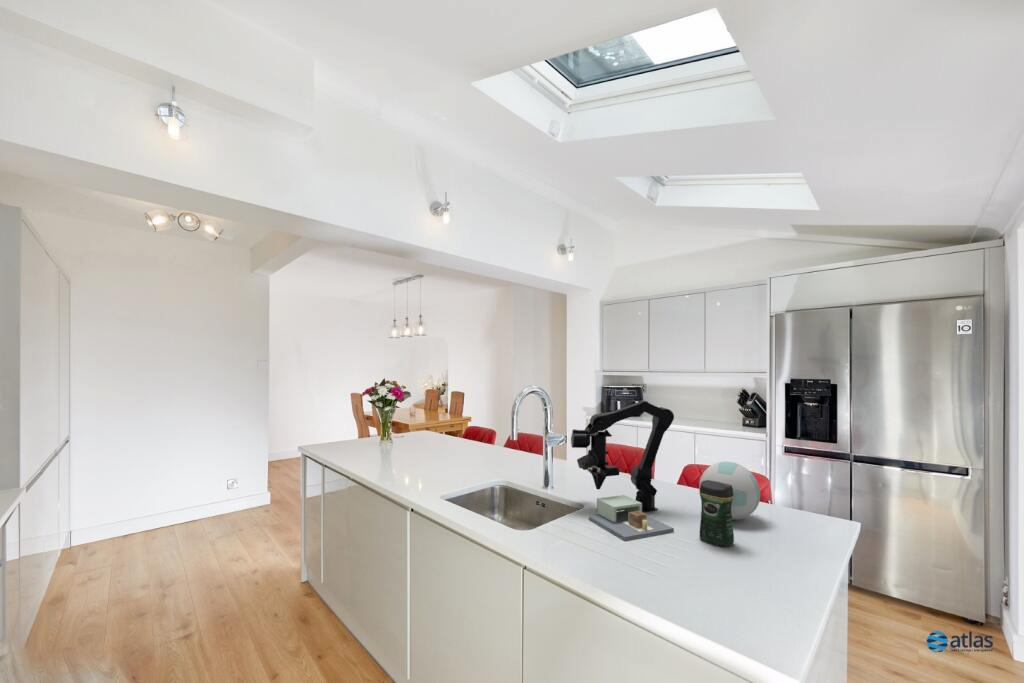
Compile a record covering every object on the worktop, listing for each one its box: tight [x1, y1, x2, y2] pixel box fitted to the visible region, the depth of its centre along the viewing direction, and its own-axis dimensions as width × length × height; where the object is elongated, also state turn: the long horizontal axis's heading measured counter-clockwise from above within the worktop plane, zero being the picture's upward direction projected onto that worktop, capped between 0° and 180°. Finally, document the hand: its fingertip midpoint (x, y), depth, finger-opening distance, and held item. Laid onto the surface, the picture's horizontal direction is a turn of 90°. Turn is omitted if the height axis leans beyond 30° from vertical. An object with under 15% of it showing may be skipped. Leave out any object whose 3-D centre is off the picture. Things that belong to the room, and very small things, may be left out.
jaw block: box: [629, 511, 648, 528], centre depth 152 cm, size 4×4×4 cm
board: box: [588, 510, 675, 542], centre depth 155 cm, size 20×20×4 cm
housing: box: [596, 494, 643, 522], centre depth 163 cm, size 12×14×5 cm
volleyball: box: [698, 461, 761, 521], centre depth 165 cm, size 20×20×20 cm
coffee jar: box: [698, 480, 735, 547], centre depth 143 cm, size 10×8×19 cm
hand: (598, 489), depth 173 cm, fingers closed
